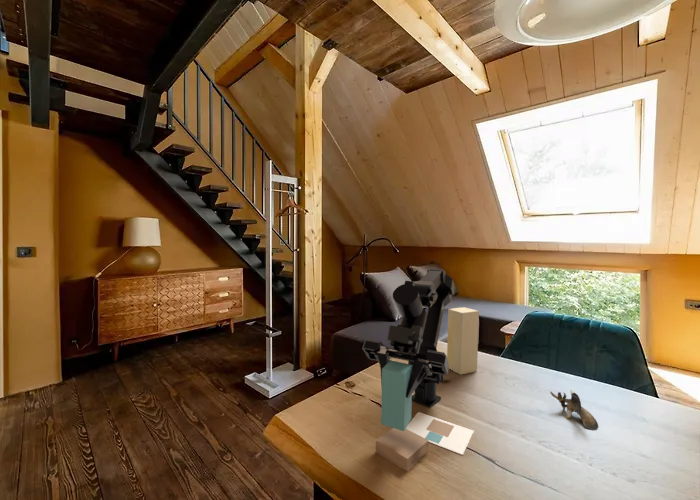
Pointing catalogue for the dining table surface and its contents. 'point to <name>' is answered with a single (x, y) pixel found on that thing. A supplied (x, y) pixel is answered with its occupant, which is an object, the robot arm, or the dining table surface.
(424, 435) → the page
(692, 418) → the dining table surface
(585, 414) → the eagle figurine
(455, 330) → the cream tall rectangular block
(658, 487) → the dining table surface
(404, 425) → the teal brick
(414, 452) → the walnut base brick
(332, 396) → the dining table surface
